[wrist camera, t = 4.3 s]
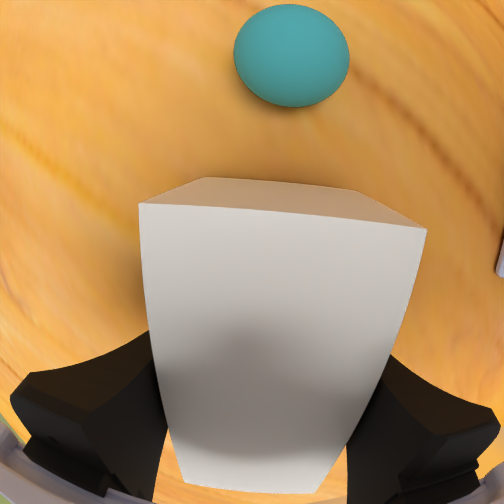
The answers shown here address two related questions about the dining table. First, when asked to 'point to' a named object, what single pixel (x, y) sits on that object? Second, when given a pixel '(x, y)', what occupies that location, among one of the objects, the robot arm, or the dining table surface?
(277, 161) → the dining table surface
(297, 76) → the ball
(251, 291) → the white rectangular block
